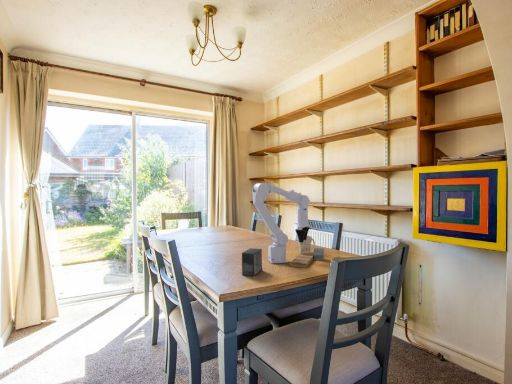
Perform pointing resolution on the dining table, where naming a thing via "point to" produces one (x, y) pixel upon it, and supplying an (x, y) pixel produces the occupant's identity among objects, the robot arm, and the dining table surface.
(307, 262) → the board
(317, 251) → the gauge
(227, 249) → the dining table surface
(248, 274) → the small box
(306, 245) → the mug
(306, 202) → the robot arm
